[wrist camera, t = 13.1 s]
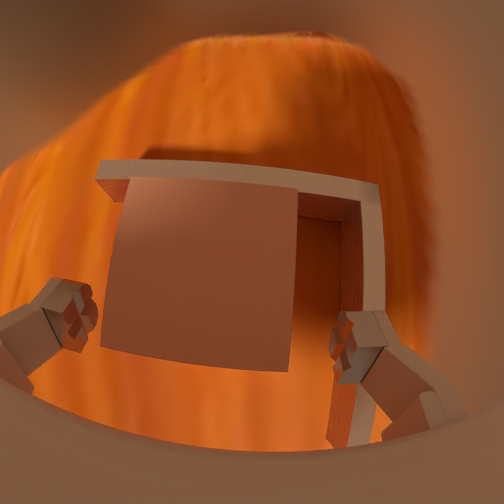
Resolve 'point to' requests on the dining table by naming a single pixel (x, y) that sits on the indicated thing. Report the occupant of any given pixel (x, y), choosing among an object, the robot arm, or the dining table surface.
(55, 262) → the dining table surface
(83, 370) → the dining table surface
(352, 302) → the corner wall
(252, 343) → the block
